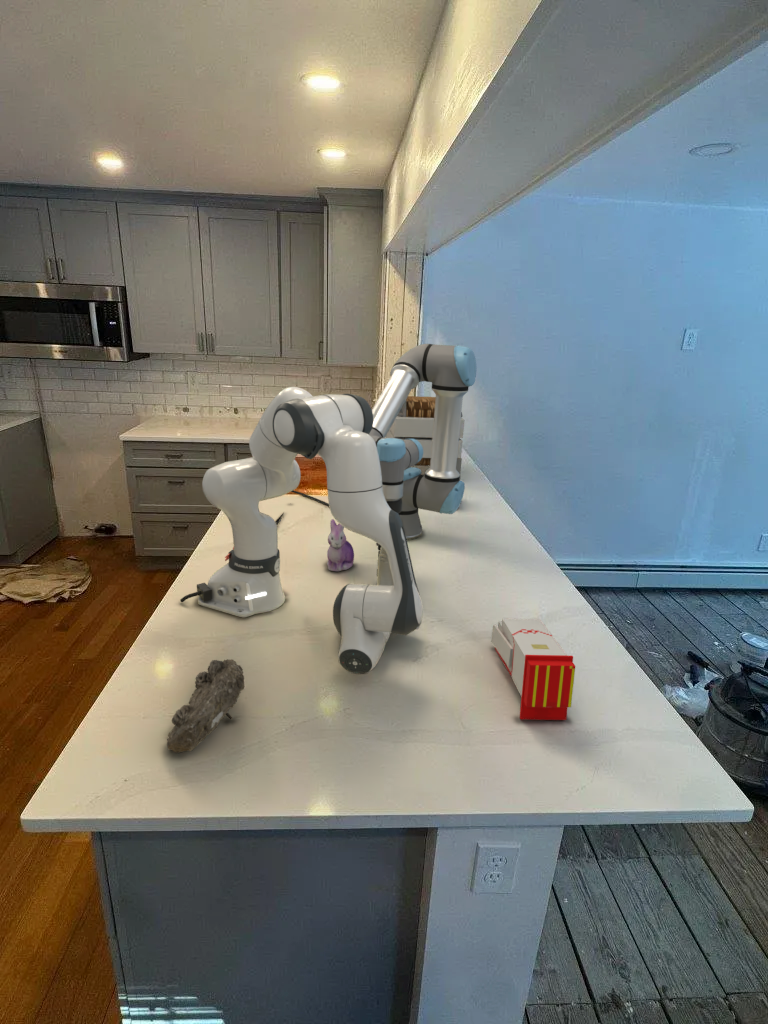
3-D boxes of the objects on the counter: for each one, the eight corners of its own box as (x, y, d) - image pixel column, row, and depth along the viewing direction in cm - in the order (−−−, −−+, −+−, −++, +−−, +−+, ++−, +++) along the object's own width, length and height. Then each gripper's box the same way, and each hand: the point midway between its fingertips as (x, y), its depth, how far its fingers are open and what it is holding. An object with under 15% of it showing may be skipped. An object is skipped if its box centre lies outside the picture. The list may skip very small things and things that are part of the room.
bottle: (391, 614, 147) (396, 530, 139) (396, 624, 143) (401, 538, 135) (373, 616, 146) (376, 531, 138) (377, 626, 141) (381, 539, 133)
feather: (291, 507, 225) (293, 503, 224) (273, 530, 198) (276, 526, 198) (287, 504, 224) (289, 500, 224) (269, 528, 198) (272, 523, 197)
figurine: (332, 575, 167) (332, 527, 162) (319, 561, 175) (319, 516, 170) (361, 569, 171) (362, 523, 166) (347, 556, 179) (348, 512, 174)
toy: (537, 603, 136) (584, 662, 106) (532, 655, 138) (577, 726, 109) (487, 602, 135) (520, 661, 106) (483, 654, 138) (514, 725, 109)
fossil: (192, 660, 117) (244, 628, 112) (224, 691, 120) (276, 661, 115) (142, 746, 98) (202, 712, 93) (182, 779, 101) (242, 748, 96)
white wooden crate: (382, 463, 289) (386, 382, 275) (445, 464, 293) (451, 384, 279) (390, 482, 257) (394, 392, 243) (460, 483, 261) (468, 394, 247)
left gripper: (419, 619, 127) (428, 591, 140) (331, 605, 131) (348, 579, 144) (417, 643, 129) (426, 613, 142) (331, 629, 133) (348, 601, 146)
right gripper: (367, 488, 158) (364, 564, 166) (382, 508, 143) (378, 591, 150) (393, 487, 160) (389, 562, 168) (411, 507, 144) (405, 589, 152)
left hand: (386, 596), depth 143 cm, fingers closed on bottle, 5 cm apart
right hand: (384, 576), depth 159 cm, fingers closed on cap, 4 cm apart
